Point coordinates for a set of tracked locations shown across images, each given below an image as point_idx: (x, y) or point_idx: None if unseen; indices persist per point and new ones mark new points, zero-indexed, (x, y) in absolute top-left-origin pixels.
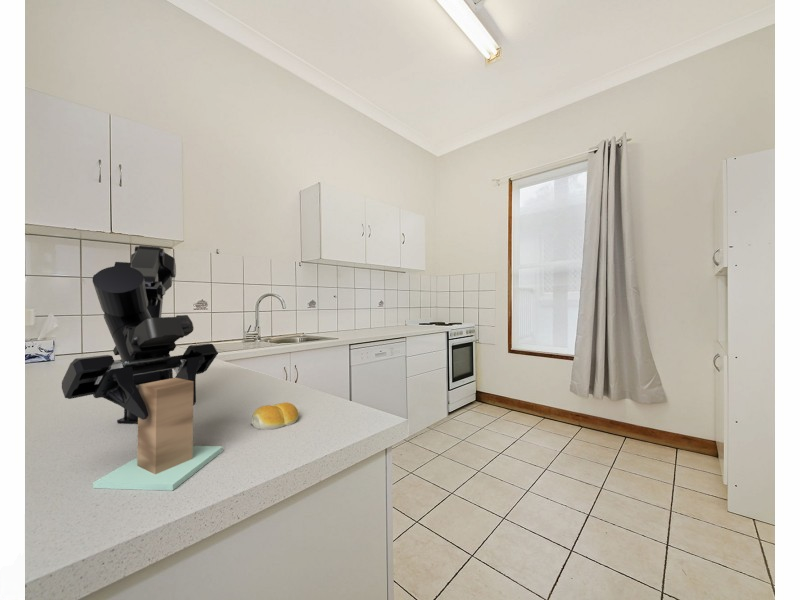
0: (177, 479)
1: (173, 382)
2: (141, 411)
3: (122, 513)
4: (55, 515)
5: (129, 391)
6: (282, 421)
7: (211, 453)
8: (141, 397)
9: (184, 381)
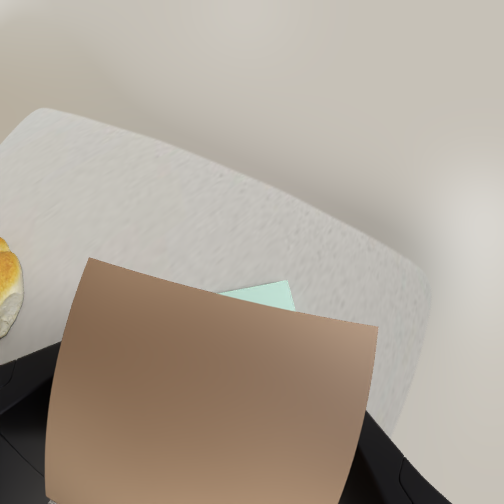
0: (270, 287)
1: (157, 405)
2: None
3: (355, 305)
4: (388, 400)
5: (414, 479)
6: (8, 251)
7: None
8: (358, 441)
9: (100, 334)
